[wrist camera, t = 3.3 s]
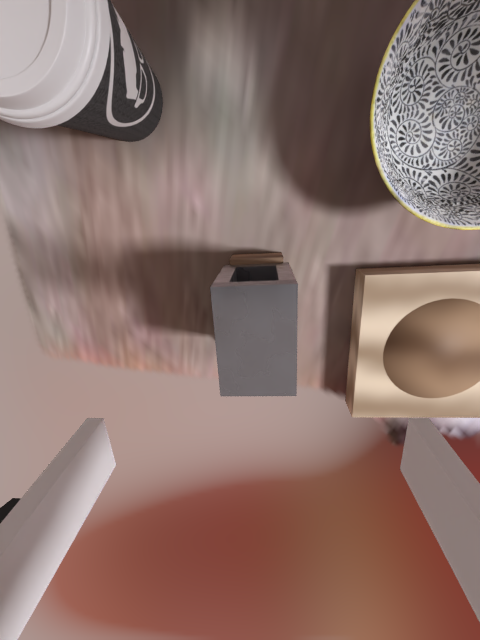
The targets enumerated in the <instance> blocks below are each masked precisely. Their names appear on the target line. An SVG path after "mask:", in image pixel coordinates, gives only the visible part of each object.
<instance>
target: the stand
mask: <svg viewBox="0 0 480 640" xmlns="http://www.w3.org/2000/svg"><path fill="white" fill-rule="evenodd" d="M264 263H283V256H282V253H281V252H279V253H258V254H236V255H232V256H231V258H230V259H229V264H230V265H242V264H264Z"/></svg>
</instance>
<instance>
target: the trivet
mask: <svg viewBox="0 0 480 640" xmlns="http://www.w3.org/2000/svg"><path fill="white" fill-rule="evenodd" d="M345 401H346V404H347V406H348V408H349V411H350V413H351V416H352V417H460V418H480V264H462V265H438V266H413V267H389V268H365V269H356V275H355V288H354V300H353V312H352V325H351V337H350V349H349V362H348V374H347V386H346V399H345Z"/></svg>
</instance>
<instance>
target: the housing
mask: <svg viewBox="0 0 480 640" xmlns="http://www.w3.org/2000/svg"><path fill="white" fill-rule="evenodd" d="M210 291H211V301H212V312H213V322H214V333H215V343H216V354H217V364H218V374H219V384H220V395H221V396H296V386H297V298H298V283H297V281H296V279H295V276H294V274H293V272H292V269H291V267H290V265H289V262H287V263H264V264H242V265H224V267H223V268H222V270H221V271H220V273H219V274H218V276H217V277H216V279H215V280H214V282H213V283H212V285H211V287H210Z"/></svg>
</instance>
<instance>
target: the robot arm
mask: <svg viewBox="0 0 480 640" xmlns="http://www.w3.org/2000/svg"><path fill="white" fill-rule="evenodd" d="M115 466H116V463H115V460H114V456H113V452H112V448H111V445H110V441H109V437H108V433H107V430H106V427H105V422H104V419H103V418H87V419H86V420H85V422H84V423H83V424H82V425H81V426H80V428H79V429H78V430H77V431H76V433H75V434H74V435H73V436H72V437H71V438H70V440H69V441H68V442H67V443H66V445H65V446H64V447H63V448H62V449H61V451H60V452H59V453H58V454H57V455H56V457H55V458H54V459H53V460H52V462H51V463H50V464H49V465H48V467H47V468H46V469H45V470H44V471H43V473H42V474H41V475H40V476H39V477H38V479H37V480H36V481H35V482H34V483H33V485H32V486H31V487H30V488H29V490H28V491H27V492H26V493H25V494H24V496H23V497H22V498H21V499H19V498H12V499H11V500H10V501H9V502H7V503H6V504H5V505H4V506H2V507H1V508H0V640H17V639H18V637H19V636H20V634H21V632H22V630H23V629H24V627H25V625H26V623H27V622H28V620H29V618H30V616H31V614H32V613H33V611H34V609H35V607H36V606H37V604H38V602H39V600H40V599H41V597H42V595H43V593H44V591H45V589H46V588H47V586H48V584H49V583H50V581H51V579H52V577H53V576H54V574H55V572H56V570H57V569H58V567H59V565H60V563H61V561H62V560H63V558H64V556H65V554H66V553H67V551H68V549H69V547H70V546H71V544H72V542H73V540H74V538H75V537H76V535H77V533H78V531H79V530H80V528H81V526H82V524H83V523H84V521H85V519H86V517H87V515H88V514H89V512H90V510H91V508H92V507H93V505H94V503H95V501H96V500H97V497H98V496H99V494H100V492H101V491H102V489H103V487H104V485H105V483H106V482H107V480H108V478H109V477H110V474H111V473H112V471H113V469H114V468H115ZM400 469H401V471H402V473H403V475H404V477H405V479H406V481H407V483H408V485H409V487H410V489H411V491H412V493H413V495H414V496H415V498H416V500H417V502H418V504H419V506H420V508H421V510H422V512H423V514H424V516H425V518H426V520H427V522H428V524H429V525H430V527H431V529H432V531H433V533H434V535H435V537H436V539H437V541H438V543H439V545H440V547H441V549H442V550H443V552H444V554H445V556H446V558H447V560H448V562H449V564H450V566H451V568H452V570H453V572H454V574H455V576H456V578H457V579H458V581H459V583H460V585H461V587H462V589H463V591H464V593H465V595H466V597H467V599H468V601H469V603H470V605H471V606H472V608H473V610H474V612H475V614H476V616H477V618H478V620H479V622H480V484H479V482H478V481H477V480H476V479H475V477H474V476H473V475H472V474H471V472H470V471H469V470H468V468H467V467H466V466H465V464H464V463H463V462H462V461H461V459H460V458H459V457H458V455H457V454H456V453H455V452H454V450H453V449H452V448H451V446H450V445H449V444H448V443H447V441H446V440H445V439H444V437H443V436H442V435H441V433H440V432H439V431H438V430H437V428H436V427H435V426H434V424H433V423H432V422H431V421H430V419H429V418H409V421H408V427H407V433H406V438H405V444H404V450H403V456H402V461H401V467H400Z"/></svg>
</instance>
